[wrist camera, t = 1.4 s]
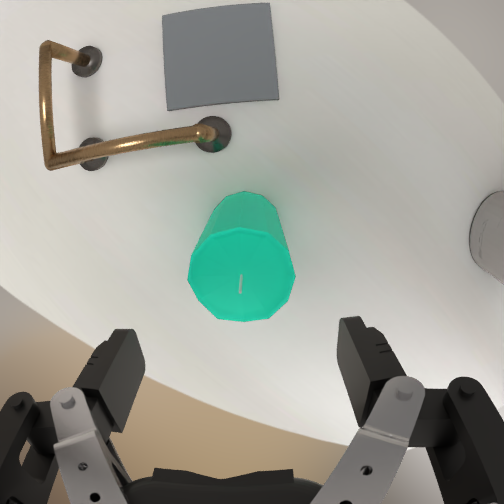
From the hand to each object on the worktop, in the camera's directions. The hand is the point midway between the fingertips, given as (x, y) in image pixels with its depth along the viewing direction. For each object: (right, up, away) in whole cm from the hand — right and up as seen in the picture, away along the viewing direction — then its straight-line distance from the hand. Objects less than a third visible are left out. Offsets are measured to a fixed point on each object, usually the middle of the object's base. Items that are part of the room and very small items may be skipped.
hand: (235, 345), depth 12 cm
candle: (0, +6, +16) cm, 17 cm away
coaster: (-2, +20, +10) cm, 22 cm away
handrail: (-8, +17, +11) cm, 22 cm away
